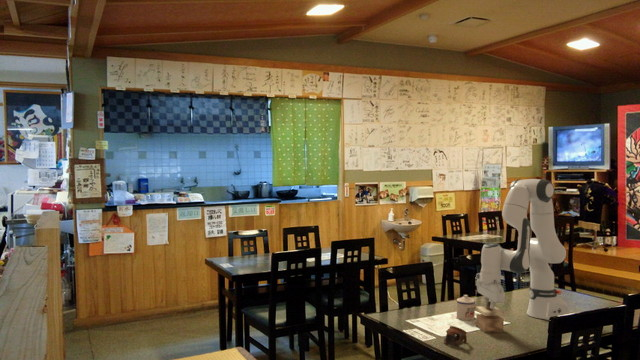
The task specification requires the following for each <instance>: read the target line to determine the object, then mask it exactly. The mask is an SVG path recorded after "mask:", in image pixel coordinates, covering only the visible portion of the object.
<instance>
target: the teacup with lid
mask: <svg viewBox="0 0 640 360" xmlns="http://www.w3.org/2000/svg"><path fill="white" fill-rule="evenodd" d="M476 306H477V305H476V301H475V300H474V299H473V298H471V297H469V295H468V294H463V296H461V297H458V298H457V299H456V318H457V319H458V320H461V321H470V322H471V321H473V320H475V312H476V310H475V307H476Z"/></svg>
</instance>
